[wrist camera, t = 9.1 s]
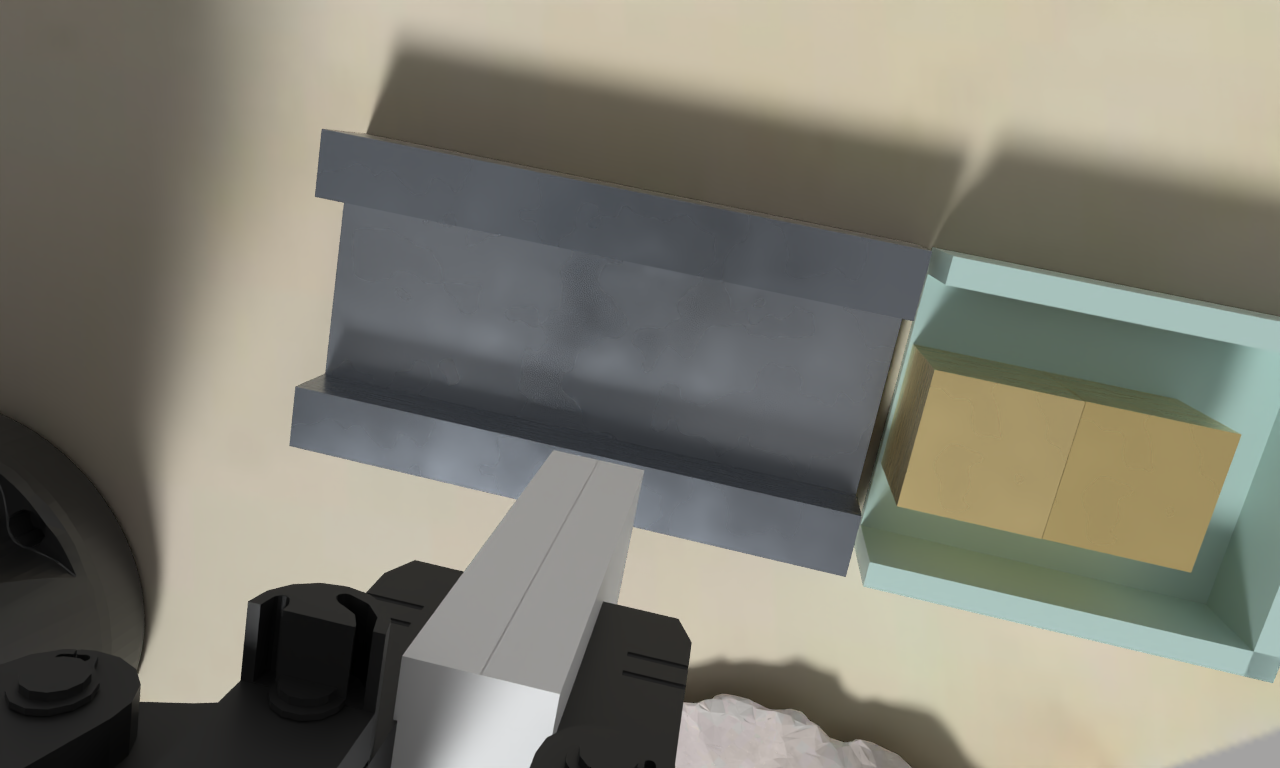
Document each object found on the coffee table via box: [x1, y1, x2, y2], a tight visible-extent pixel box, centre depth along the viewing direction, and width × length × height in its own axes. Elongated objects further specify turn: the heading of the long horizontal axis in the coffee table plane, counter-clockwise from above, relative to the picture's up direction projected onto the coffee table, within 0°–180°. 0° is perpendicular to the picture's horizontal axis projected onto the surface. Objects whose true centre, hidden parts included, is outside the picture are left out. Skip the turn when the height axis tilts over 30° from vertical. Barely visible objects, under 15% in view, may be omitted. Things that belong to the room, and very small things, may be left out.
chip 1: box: [881, 344, 1085, 539], centre depth 27 cm, size 4×4×4 cm
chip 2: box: [1042, 371, 1242, 573], centre depth 27 cm, size 4×4×4 cm
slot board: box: [290, 129, 932, 577], centre depth 29 cm, size 18×10×3 cm, turn 79°
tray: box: [854, 247, 1280, 683], centre depth 27 cm, size 12×10×3 cm
